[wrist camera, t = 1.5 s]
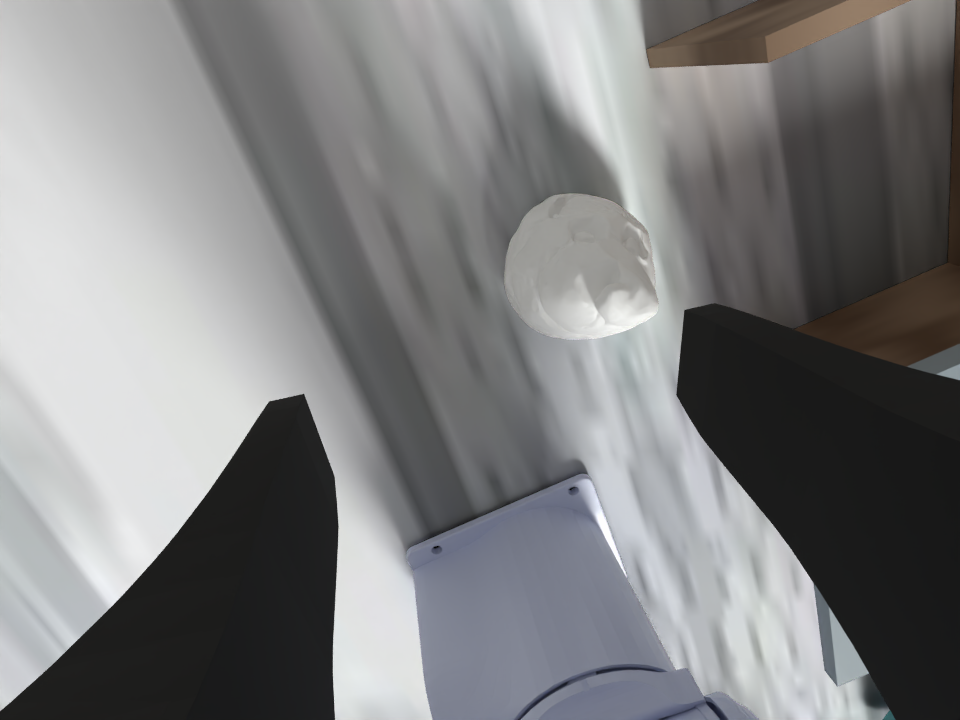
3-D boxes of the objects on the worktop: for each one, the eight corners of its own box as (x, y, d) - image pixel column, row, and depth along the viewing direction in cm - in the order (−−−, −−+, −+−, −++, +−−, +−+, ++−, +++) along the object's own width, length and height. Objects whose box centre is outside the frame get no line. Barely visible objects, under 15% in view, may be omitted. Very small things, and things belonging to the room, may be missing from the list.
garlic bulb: (743, 250, 17) (667, 407, 19) (652, 209, 22) (600, 335, 24) (578, 201, 15) (515, 378, 17) (522, 170, 21) (479, 308, 23)
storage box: (712, 375, 26) (812, 459, 20) (646, 49, 19) (765, 36, 14) (959, 269, 26) (1128, 322, 20) (976, -95, 19) (1234, -169, 14)
